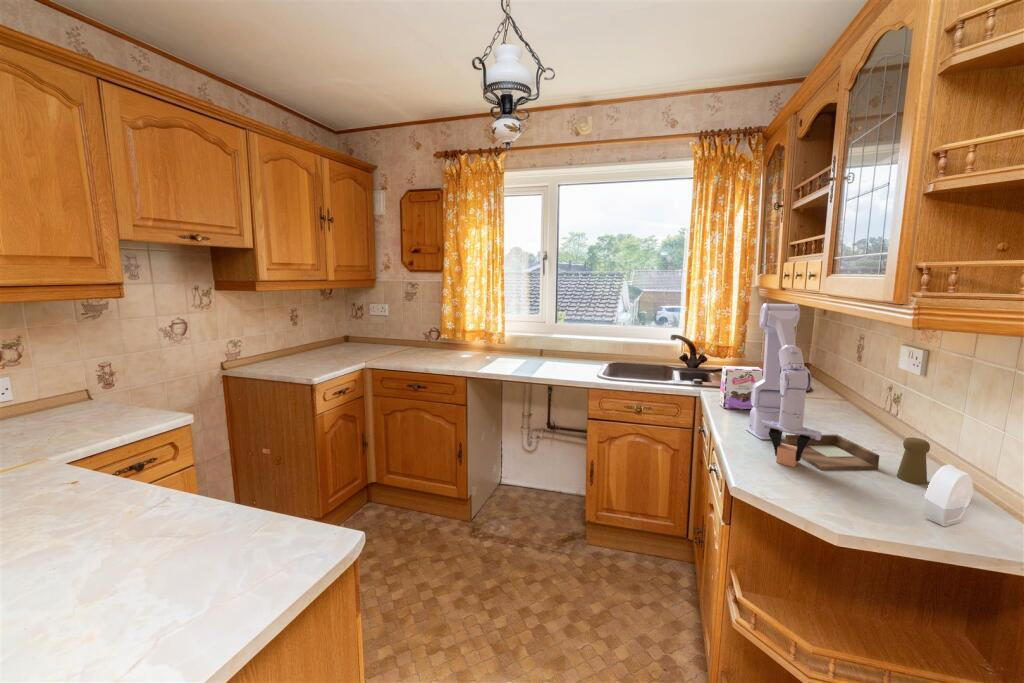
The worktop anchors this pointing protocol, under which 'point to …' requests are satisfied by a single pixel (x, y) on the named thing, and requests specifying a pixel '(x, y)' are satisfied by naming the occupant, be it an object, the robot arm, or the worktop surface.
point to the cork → (914, 461)
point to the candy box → (738, 386)
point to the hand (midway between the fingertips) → (787, 457)
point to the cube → (786, 454)
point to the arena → (835, 453)
